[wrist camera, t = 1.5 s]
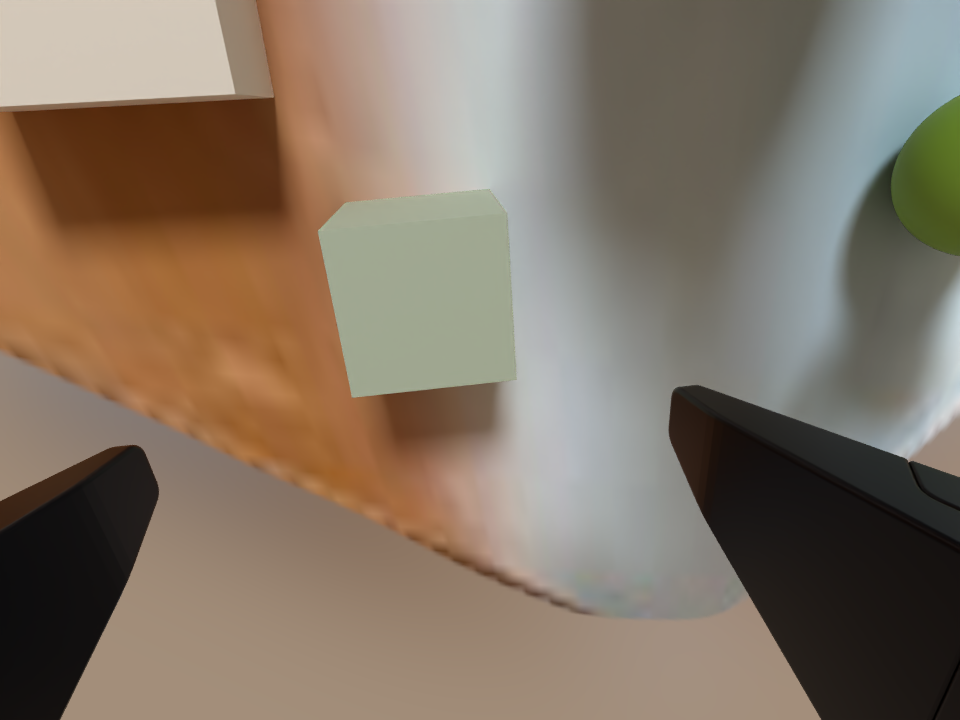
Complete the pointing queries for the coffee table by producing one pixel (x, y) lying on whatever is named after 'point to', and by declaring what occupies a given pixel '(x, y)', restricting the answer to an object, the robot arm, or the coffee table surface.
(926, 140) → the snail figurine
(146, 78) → the base block
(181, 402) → the coffee table surface
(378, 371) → the green cube
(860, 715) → the robot arm
